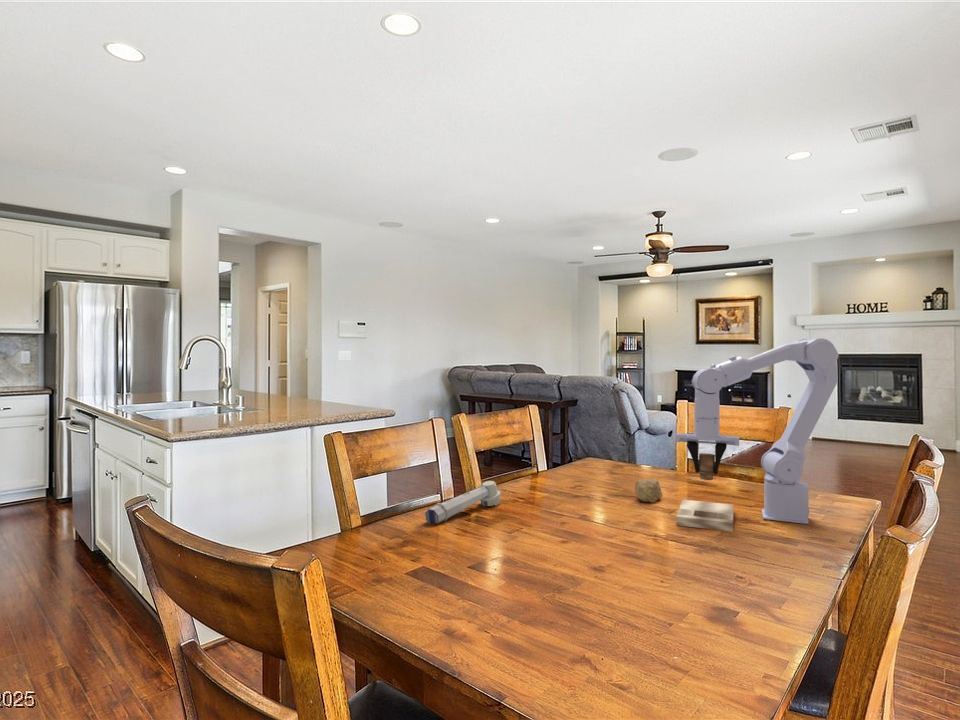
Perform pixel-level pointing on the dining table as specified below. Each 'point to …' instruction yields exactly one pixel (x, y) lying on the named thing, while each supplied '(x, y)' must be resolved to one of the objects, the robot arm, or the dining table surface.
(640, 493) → the stone tool
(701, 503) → the board
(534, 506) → the dining table surface
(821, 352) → the robot arm
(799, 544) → the dining table surface
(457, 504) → the grey mallet
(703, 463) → the peg
